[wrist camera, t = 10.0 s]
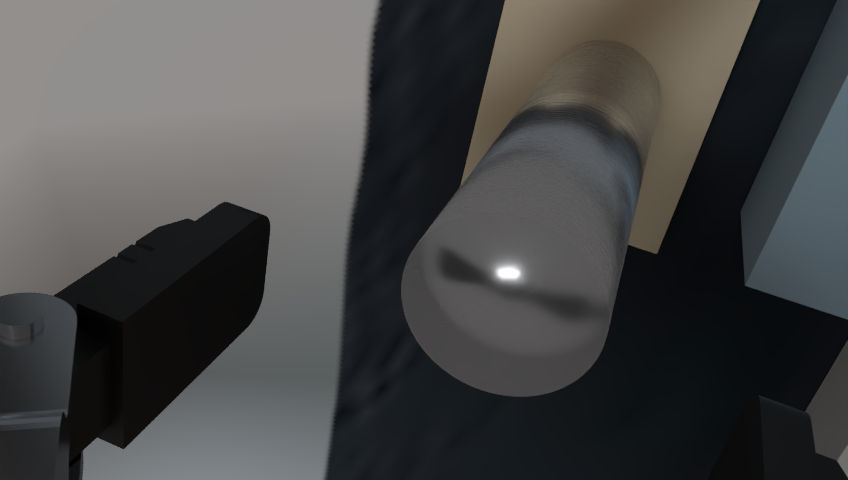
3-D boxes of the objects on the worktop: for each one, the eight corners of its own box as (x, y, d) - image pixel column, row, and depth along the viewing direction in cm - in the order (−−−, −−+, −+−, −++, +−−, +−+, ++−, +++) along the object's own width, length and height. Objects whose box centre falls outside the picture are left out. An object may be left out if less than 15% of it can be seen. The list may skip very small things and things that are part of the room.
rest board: (766, -25, 22) (768, -21, 21) (658, 243, 26) (656, 254, 26) (530, -84, 23) (524, -82, 23) (465, 180, 28) (459, 189, 27)
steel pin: (677, 58, 23) (639, 254, 12) (637, 166, 25) (572, 425, 14) (560, 25, 24) (422, 183, 13) (529, 133, 25) (385, 354, 14)
